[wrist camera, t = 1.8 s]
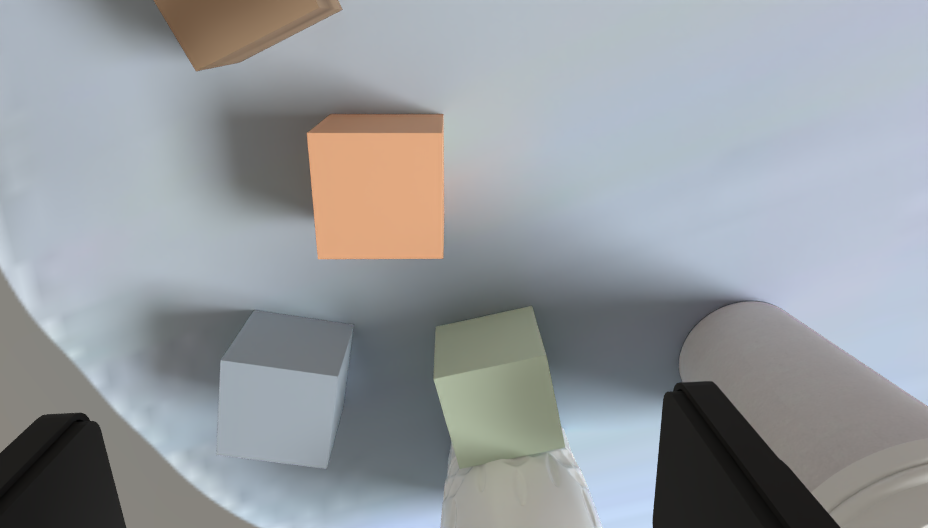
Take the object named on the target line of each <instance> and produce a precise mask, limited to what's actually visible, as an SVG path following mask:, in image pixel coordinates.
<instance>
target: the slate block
mask: <svg viewBox="0 0 928 528" xmlns="http://www.w3.org/2000/svg"><path fill="white" fill-rule="evenodd" d="M353 330H354V325H353V324H346V323H339V322H332V321H326V320H319V319H312V318H305V317H299V316H292V315H285V314H278V313H272V312H265V311H258V310H254V311H253V312H252V314H251V315H250V317H249V318H248V320H247V321H246V323H245V324H244V326H243V327H242V329H241V330H240V332H239V333H238V335H237V336H236V338H235V339H234V341H233V342H232V344H231V345H230V347H229V348H228V350H227V351H226V353H225V354H224V356H223V357H222V359H221V360H220V382H219V406H218V429H217V453H216V455H221V456H229V457H236V458H244V459H252V460H260V461H268V462H276V463H284V464H292V465H300V466H307V467H315V468H323V469H327V466H328V463H329V459H330V455H331V452H332V448H333V444H334V440H335V437H336V433H337V429H338V426H339V422H340V418H341V414H342V411H343V407H344V400H345V392H346V384H347V376H348V368H349V361H350V353H351V345H352V337H353Z"/></svg>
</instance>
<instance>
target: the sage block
mask: <svg viewBox="0 0 928 528" xmlns="http://www.w3.org/2000/svg"><path fill="white" fill-rule="evenodd" d="M433 379H434V383H435V386H436V390H437V393H438V396H439V400H440V403H441V407H442V410H443V414H444V417H445V421H446V424H447V427H448V431H449V434H450V438H451V441H452V445H453V448H454V452H455V455H456V458H457V462H458V465H459V469H462V468H467V467H472V466H477V465H482V464H486V463H488V462H491V461H495V460H499V459H511V458H516V457H521V456H526V455H531V454H536V453H541V452H546V451H551V450H556V449H561V448H565V443H564V438H563V433H562V428H561V424H560V419H559V414H558V409H557V404H556V399H555V395H554V390H553V385H552V380H551V375H550V370H549V366H548V361H547V356H546V352H545V349H544V345H543V342H542V339H541V335H540V332H539V328H538V325H537V321H536V318H535V315H534V311H533V308H532V306H529V307H524V308H520V309H515V310H510V311H506V312H501V313H497V314H492V315H487V316H483V317H478V318H474V319H469V320H464V321H460V322H455V323H451V324H446V325H441V326H437V327H436V330H435V354H434V378H433Z"/></svg>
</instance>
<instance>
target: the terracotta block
mask: <svg viewBox="0 0 928 528" xmlns="http://www.w3.org/2000/svg"><path fill="white" fill-rule="evenodd" d="M307 141H308V152H309V163H310V175H311V186H312V197H313V208H314V220H315V231H316V242H317V254H318V259H443V247H444V134H443V114H330V115H329V116H328V117H326V118H325V119H324V120H323V121H321V122H320V123H319V124H318V125H316V126H315V127H314V128H312V129H311V130H310V131H309V132H307Z"/></svg>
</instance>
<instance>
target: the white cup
mask: <svg viewBox="0 0 928 528" xmlns="http://www.w3.org/2000/svg"><path fill="white" fill-rule="evenodd" d="M561 428H562V427H561ZM562 433H563V438H564V443H565V448H561V449H556V450H551V451H546V452H541V453H536V454H531V455H526V456H521V457H516V458H511V459H499V460H495V461H491V462H488V463H486V464H482V465H477V466H472V467H467V468H462V469H459V465H458V462H457V458H456V455H455V452H454V448H453V445H452V441H451V447H450V452H449V458H448V470H447V478H446V480H445V485H444V498H443V503H442V514H441V527H440V528H603V526H602V523H601V521H600V518H599V515H598V512H597V510H596V507H595V504H594V501H593V499H592V496H591V493H590V491H589V489H588V486H587V484H586V481H585V479H584V477H583V474H582V471H581V469H580V468H579V466H578V465H577V463H576V461H575V458H574V456H573V454H572V451H571V448H570V445H569V442H568V439H567V436H566V433H565V431H564V429H563V428H562Z"/></svg>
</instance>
